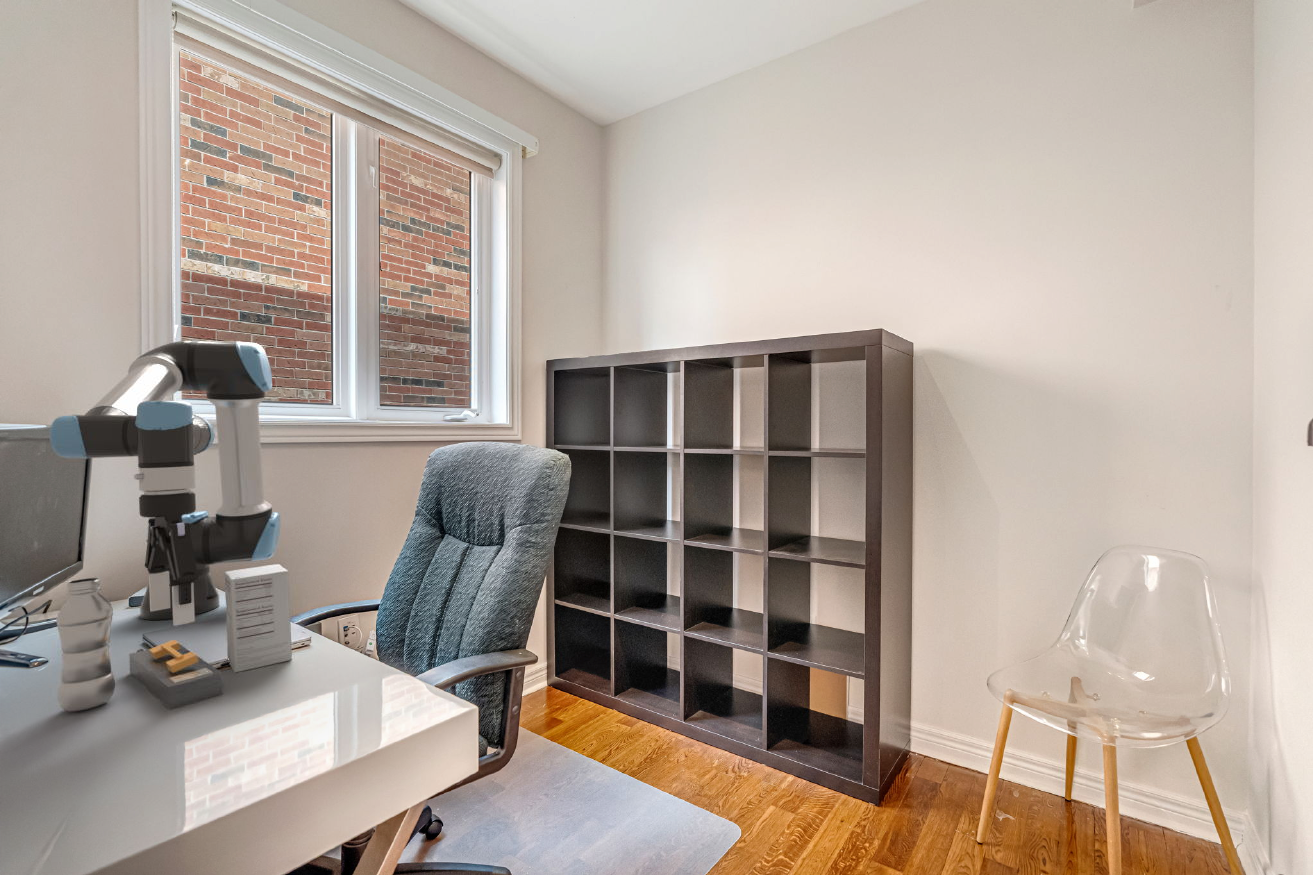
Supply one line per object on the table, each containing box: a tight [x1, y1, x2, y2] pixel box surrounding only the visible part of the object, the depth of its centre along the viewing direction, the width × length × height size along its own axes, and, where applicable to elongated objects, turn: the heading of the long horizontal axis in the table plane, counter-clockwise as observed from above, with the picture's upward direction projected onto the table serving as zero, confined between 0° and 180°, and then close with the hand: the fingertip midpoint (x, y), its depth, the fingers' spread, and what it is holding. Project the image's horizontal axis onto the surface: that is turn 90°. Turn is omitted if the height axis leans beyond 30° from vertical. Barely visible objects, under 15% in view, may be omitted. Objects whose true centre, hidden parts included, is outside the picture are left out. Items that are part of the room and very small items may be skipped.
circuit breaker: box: [128, 643, 224, 711], centre depth 109 cm, size 34×7×4 cm, turn 52°
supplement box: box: [224, 563, 293, 673], centre depth 116 cm, size 10×9×17 cm
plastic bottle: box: [55, 577, 116, 712], centre depth 97 cm, size 6×7×20 cm
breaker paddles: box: [149, 639, 199, 673], centre depth 106 cm, size 13×4×2 cm, turn 52°
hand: (171, 616), depth 105 cm, fingers open, 13 cm apart
